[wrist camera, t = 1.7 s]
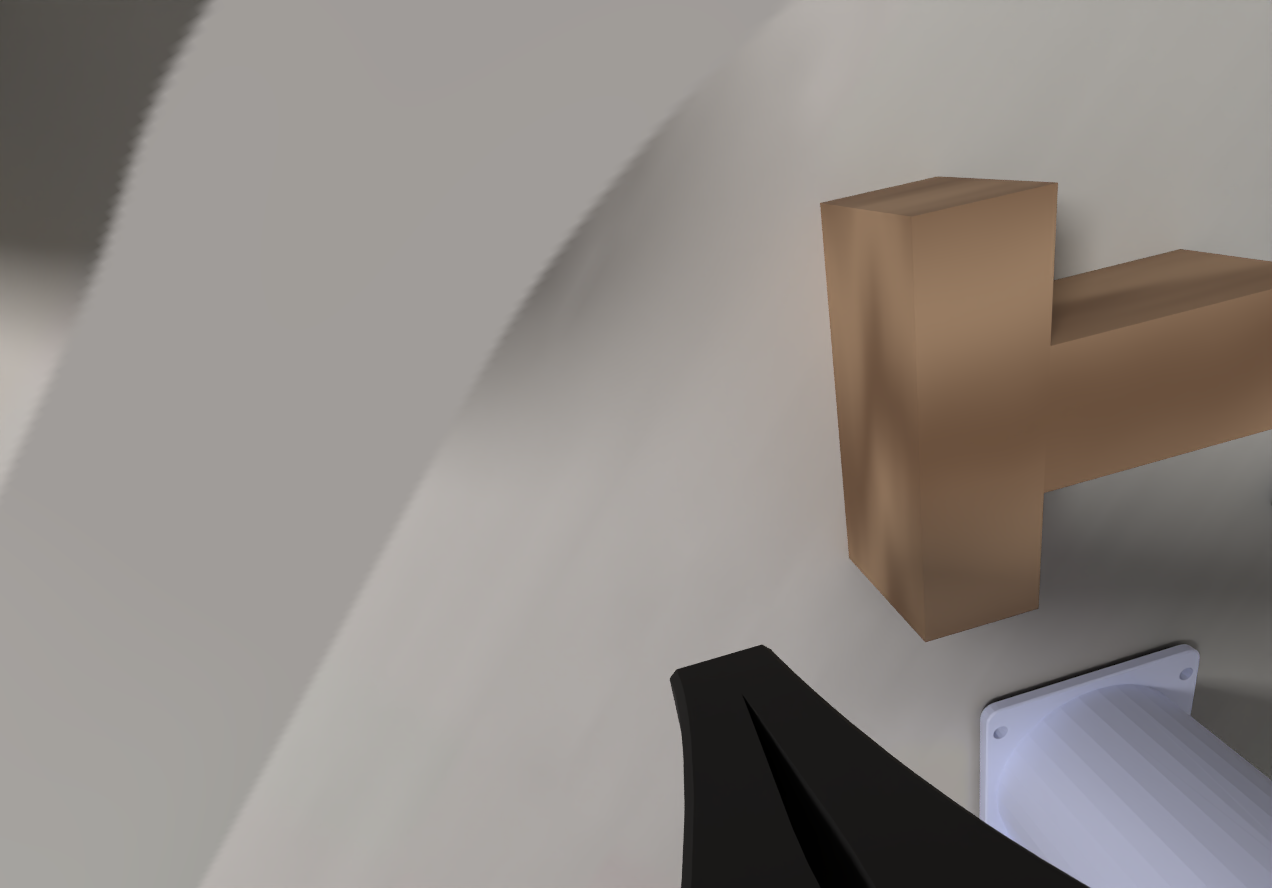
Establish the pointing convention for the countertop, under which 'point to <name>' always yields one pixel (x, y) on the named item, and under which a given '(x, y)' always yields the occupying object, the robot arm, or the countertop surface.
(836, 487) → the countertop surface
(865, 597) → the countertop surface
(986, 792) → the robot arm
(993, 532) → the t block
